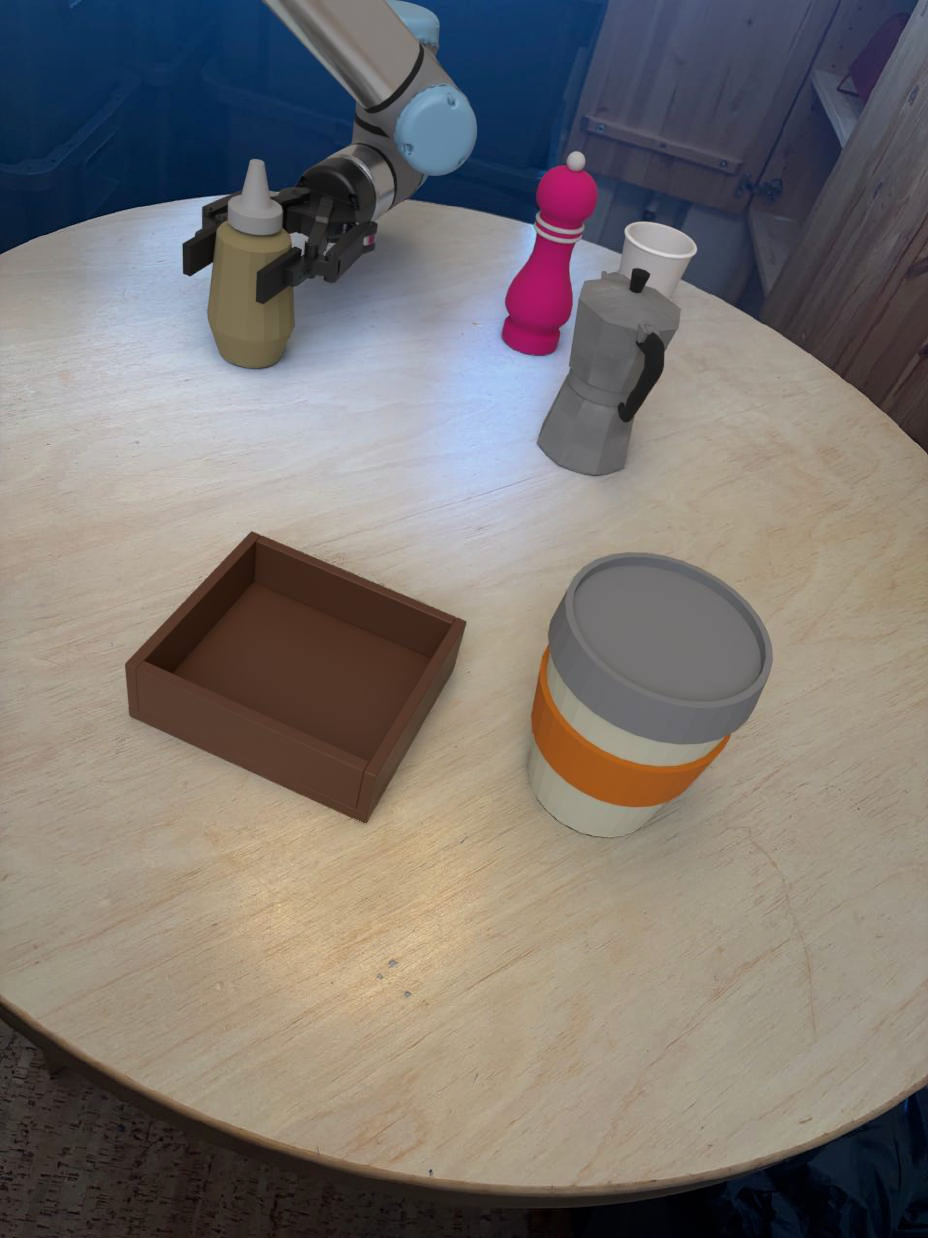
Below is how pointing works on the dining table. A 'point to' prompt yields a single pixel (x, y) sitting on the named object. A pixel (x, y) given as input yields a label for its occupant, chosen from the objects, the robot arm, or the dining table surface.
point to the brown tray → (297, 673)
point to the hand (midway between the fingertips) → (223, 273)
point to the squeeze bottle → (249, 277)
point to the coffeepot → (608, 371)
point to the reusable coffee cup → (640, 688)
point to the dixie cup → (657, 254)
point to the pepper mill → (550, 260)
